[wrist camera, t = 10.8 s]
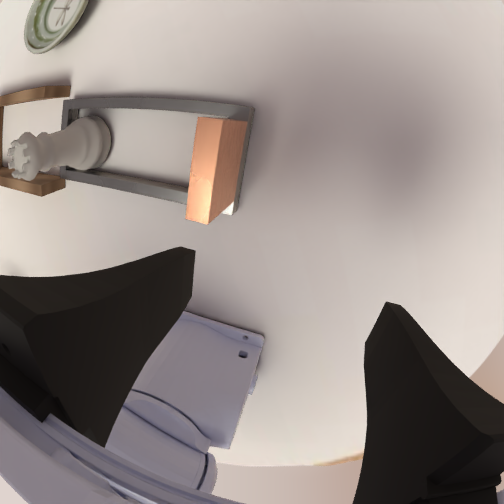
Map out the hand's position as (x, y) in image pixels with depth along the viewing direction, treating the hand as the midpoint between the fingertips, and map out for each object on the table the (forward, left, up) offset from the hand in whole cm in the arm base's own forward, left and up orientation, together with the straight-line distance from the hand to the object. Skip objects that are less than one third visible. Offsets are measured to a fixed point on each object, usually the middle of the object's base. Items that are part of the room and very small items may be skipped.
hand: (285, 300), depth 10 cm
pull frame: (+12, -3, -9) cm, 16 cm away
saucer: (+24, -16, -10) cm, 30 cm away
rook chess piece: (+17, -3, -10) cm, 20 cm away
